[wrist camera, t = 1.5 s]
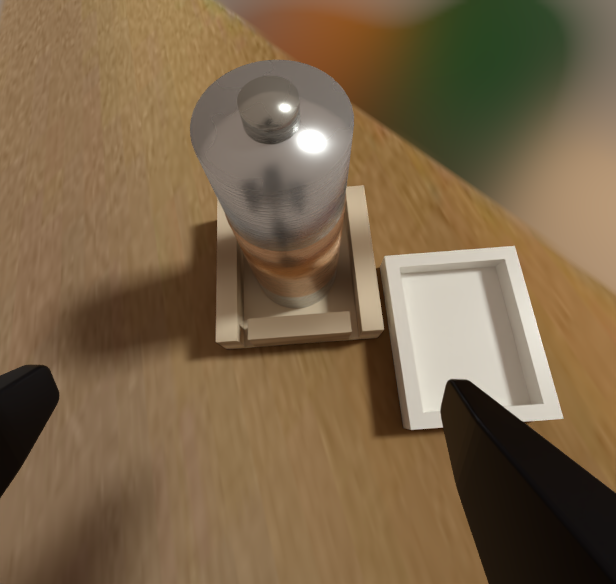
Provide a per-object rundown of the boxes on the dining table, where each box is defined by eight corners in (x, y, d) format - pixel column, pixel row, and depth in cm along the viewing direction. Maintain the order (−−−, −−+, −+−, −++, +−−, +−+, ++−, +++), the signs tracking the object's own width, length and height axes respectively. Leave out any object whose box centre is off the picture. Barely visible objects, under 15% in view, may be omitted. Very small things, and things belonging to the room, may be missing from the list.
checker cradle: (377, 337, 22) (384, 329, 19) (226, 349, 22) (215, 342, 19) (359, 206, 25) (363, 185, 22) (227, 217, 25) (217, 197, 22)
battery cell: (340, 305, 22) (369, 167, 9) (258, 312, 22) (173, 182, 9) (332, 232, 24) (348, 27, 11) (256, 238, 24) (182, 41, 11)
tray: (542, 417, 20) (563, 418, 18) (403, 427, 20) (411, 429, 18) (500, 258, 23) (514, 246, 21) (379, 267, 23) (384, 256, 22)
